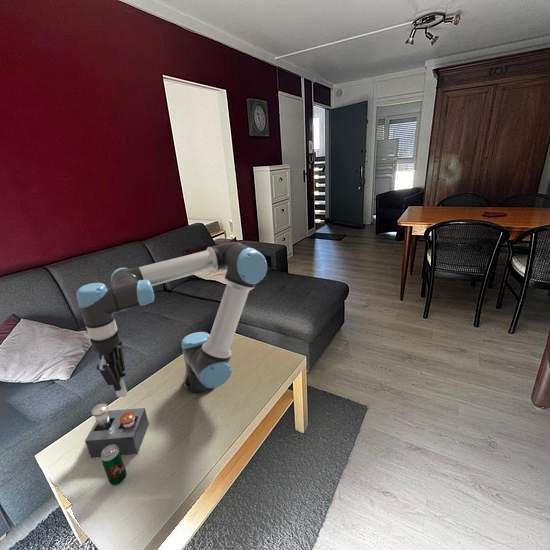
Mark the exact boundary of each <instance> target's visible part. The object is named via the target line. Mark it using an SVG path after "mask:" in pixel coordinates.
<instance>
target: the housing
mask: <svg viewBox="0 0 550 550" xmlns="http://www.w3.org/2000/svg"><path fill="white" fill-rule="evenodd" d="M126 412H133V413H134V414H135V419H134V421H135V426H134V428H127V429H124V427H123V425H122V424H121V423H120V417H121V416H122V415H123V414H124V413H126ZM107 413H108V416H109V419H110V422H111V426H110V428H109V429H107V430H103V431H100V430H99V427H98V424H97V421H96V420H95V423H94V424H93V426H92V427H91V430H90V431H89V432H88V435H87V437H86V438H85V439H84V443H85V445H86V447H87V451H88V454H89V457H90V458H91V459H96V458H97V459H98V458H99V459H101V452H102V450H103V449H104V448H105V447H107V446H108V445H111V444H115V445H116V446H118V447H119V449H120V452H121V455H122V457H123V456H133V455H134V456H135V455H138V454H139V452H140V448H141V446H142V444H143V440H144V439H145V435H146V433H147V430H148V428H149V425H150V424H149V419H148V416H147V412H146V407H140V408H128V409H116V410H115V409H113V410H107Z"/></svg>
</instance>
